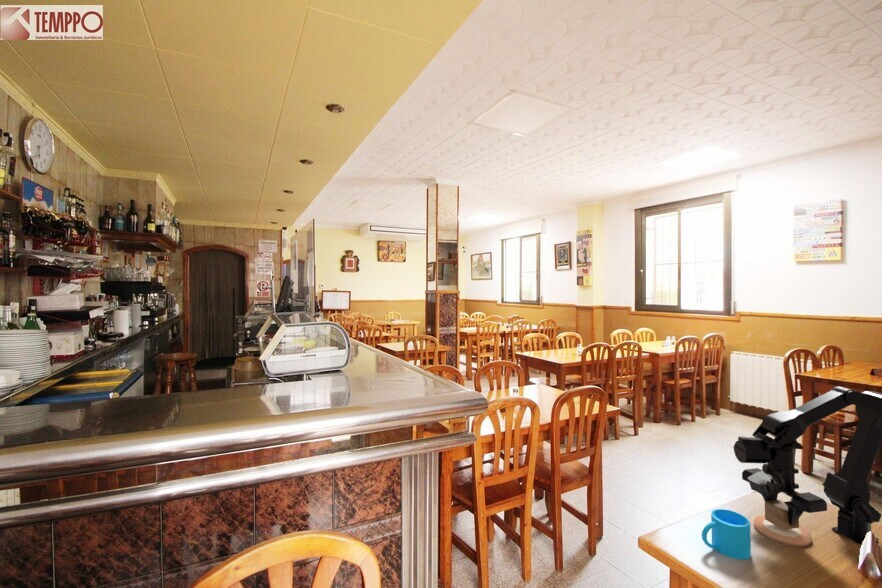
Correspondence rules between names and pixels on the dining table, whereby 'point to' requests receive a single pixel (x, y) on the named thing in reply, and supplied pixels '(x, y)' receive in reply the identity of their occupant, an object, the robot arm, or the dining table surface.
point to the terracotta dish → (783, 533)
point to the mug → (729, 534)
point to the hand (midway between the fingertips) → (781, 519)
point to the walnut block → (778, 514)
